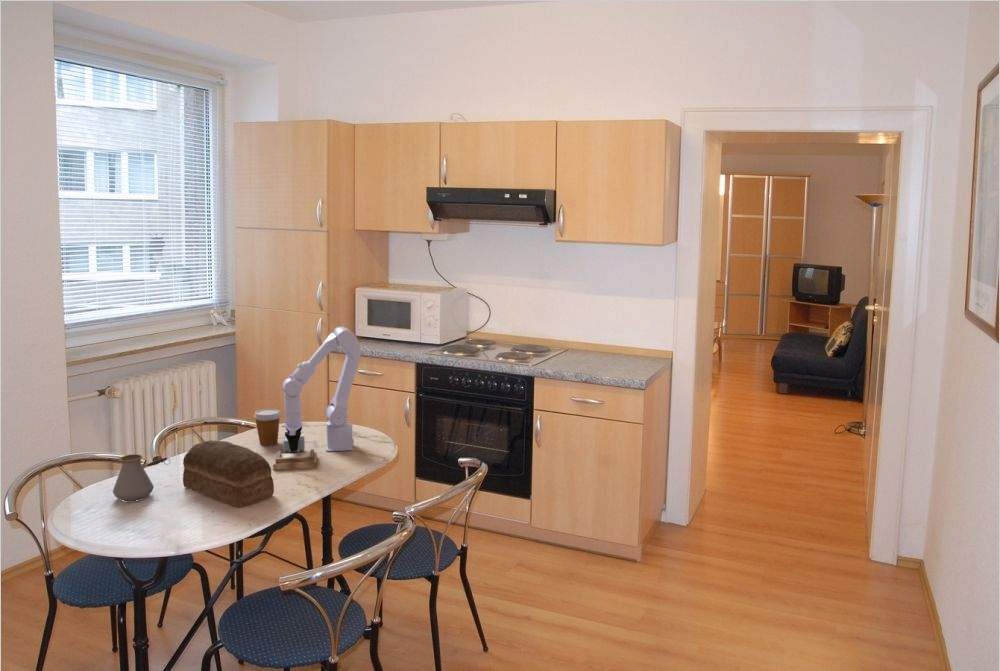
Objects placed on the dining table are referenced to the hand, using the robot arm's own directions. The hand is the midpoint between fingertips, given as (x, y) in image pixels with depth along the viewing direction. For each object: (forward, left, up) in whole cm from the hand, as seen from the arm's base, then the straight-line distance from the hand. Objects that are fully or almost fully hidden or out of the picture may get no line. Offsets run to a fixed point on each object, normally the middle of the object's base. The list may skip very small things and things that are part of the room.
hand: (294, 449), depth 305 cm
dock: (-1, +12, -1) cm, 12 cm away
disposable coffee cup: (+10, -13, -2) cm, 16 cm away
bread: (+18, +36, -2) cm, 40 cm away
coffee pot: (+42, +39, -2) cm, 57 cm away
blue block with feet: (0, 0, -1) cm, 1 cm away
